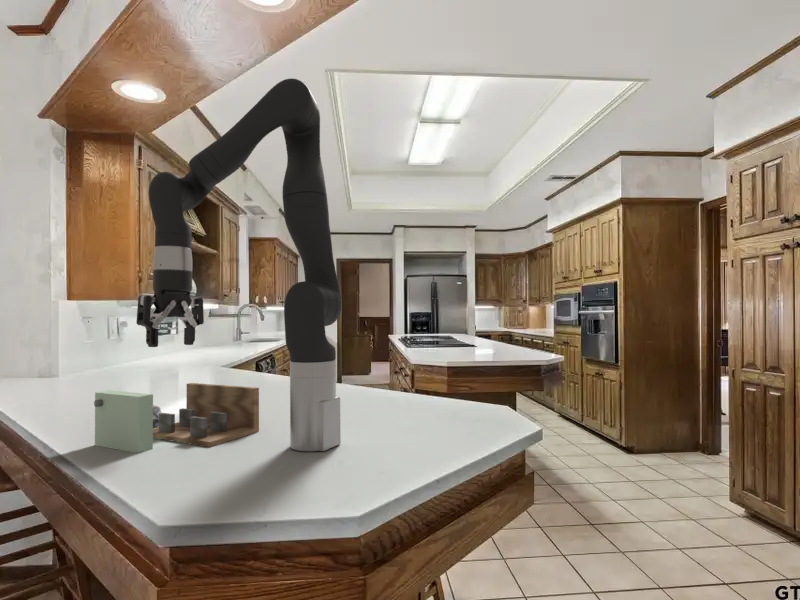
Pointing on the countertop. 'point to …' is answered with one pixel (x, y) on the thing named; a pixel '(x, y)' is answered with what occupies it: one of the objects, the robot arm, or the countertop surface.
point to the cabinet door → (124, 420)
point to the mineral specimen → (156, 415)
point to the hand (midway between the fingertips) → (171, 345)
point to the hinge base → (212, 415)
